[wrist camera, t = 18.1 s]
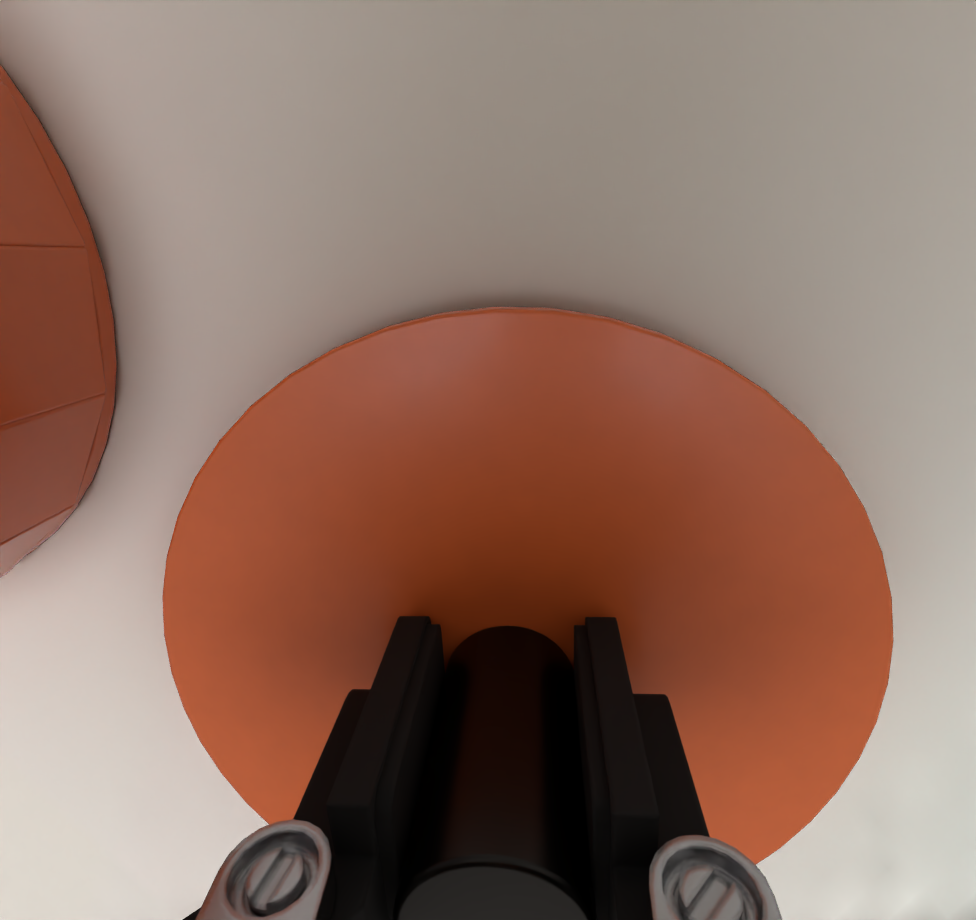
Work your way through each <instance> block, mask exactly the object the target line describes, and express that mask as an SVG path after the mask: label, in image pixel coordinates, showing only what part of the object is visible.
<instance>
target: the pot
mask: <svg viewBox="0 0 976 920" xmlns="http://www.w3.org/2000/svg"><path fill="white" fill-rule="evenodd" d="M116 369H117V362H116V347H115V332H114V320H113V314H112V309H111V304H110V298H109V293H108V288H107V283H106V277H105V272H104V269H103V266H102V263H101V259H100V256H99V253H98V250H97V246H96V243H95V240H94V237H93V233H92V230H91V227H90V224H89V221H88V219H87V216H86V214H85V212H84V209H83V207H82V205H81V202H80V200H79V198H78V195H77V193H76V191H75V188H74V186H73V184H72V181H71V179H70V177H69V174H68V172H67V170H66V168H65V166H64V165H63V163H62V161H61V159H60V157H59V156H58V154H57V152H56V150H55V148H54V146H53V145H52V143H51V141H50V139H49V137H48V136H47V134H46V132H45V130H44V128H43V126H42V125H41V123H40V121H39V119H38V118H37V116H36V115H35V114H34V112H33V111H32V109H31V108H30V106H29V105H28V103H27V102H26V100H25V99H24V98H23V96H22V95H21V93H20V92H19V90H18V89H17V87H16V86H15V84H14V83H13V82H12V80H11V79H10V77H9V76H8V74H7V73H6V71H5V70H4V69H3V67H2V66H1V65H0V577H2V576H4V575H5V574H7V573H8V572H9V571H10V570H11V569H12V568H13V567H14V566H15V565H16V564H17V563H18V562H19V561H20V560H21V559H22V558H23V557H24V556H26V555H28V554H29V553H31V552H32V551H34V550H35V549H36V548H37V547H38V546H40V545H41V544H42V543H43V542H44V541H46V540H47V539H48V538H49V537H50V536H52V535H53V534H54V533H55V532H56V531H57V530H58V529H59V527H60V526H61V525H62V524H63V523H64V522H65V520H66V519H67V518H68V517H69V516H70V514H71V513H72V512H73V511H74V510H75V509H76V507H77V505H78V504H79V502H80V500H81V499H82V497H83V495H84V493H85V492H86V490H87V488H88V487H89V485H90V483H91V481H92V480H93V478H94V475H95V473H96V470H97V468H98V465H99V462H100V460H101V457H102V454H103V452H104V449H105V446H106V443H107V438H108V434H109V429H110V424H111V419H112V415H113V410H114V400H115V385H116Z"/></svg>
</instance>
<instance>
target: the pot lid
mask: <svg viewBox="0 0 976 920" xmlns="http://www.w3.org/2000/svg"><path fill="white" fill-rule="evenodd" d="M400 616H429V617H430V620H431V624H440V626H441V632H442V643H443V655H444V666H445V677H444V681H443V686H442V690H441V695H440V699H439V704H438V708H437V713H436V717H435V722H434V726H433V731H432V736H431V740H430V745H429V749H428V754H427V758H426V763H425V767H424V772H423V776H422V781H421V785H420V790H419V794H418V799H417V803H416V808H415V813H414V817H413V822H412V826H411V831H410V835H409V840H408V844H407V849H406V853H405V858H404V862H403V867H402V871H401V876H400V881H399V885H398V890H397V894H396V899H395V903H394V910H393V920H597V917H596V906H595V895H594V891H593V887H592V879H591V867H590V856H589V844H588V833H587V821H586V810H585V798H584V787H583V776H582V764H581V753H580V741H579V730H578V718H577V707H576V695H575V684H574V625H585V617H616V619H617V623H618V628H619V632H620V637H621V642H622V646H623V651H624V655H625V660H626V664H627V669H628V674H629V678H630V683H631V687H632V692H633V694H666V696H667V697H668V699H669V702H670V705H671V708H672V711H673V715H674V718H675V721H676V725H677V728H678V732H679V735H680V738H681V742H682V745H683V748H684V752H685V755H686V758H687V762H688V765H689V768H690V772H691V775H692V779H693V782H694V785H695V789H696V792H697V795H698V799H699V802H700V805H701V809H702V812H703V815H704V819H705V822H706V826H707V829H708V832H709V836H710V837H711V838H716V839H718V840H720V841H723V842H725V843H727V844H729V845H731V846H733V847H735V848H736V849H738V850H739V851H740V852H741V853H743V854H744V855H745V856H746V857H748V858H749V859H750V860H752V862H753V863H754V864H755V865H756V864H757V863H759V862H760V861H762V860H763V859H765V858H766V857H768V856H769V855H771V854H772V853H774V852H775V851H777V850H778V849H780V848H781V847H782V846H783V845H784V844H785V843H787V842H788V841H789V840H790V839H791V838H792V837H794V836H795V835H796V834H797V833H798V832H799V831H800V830H802V829H803V828H804V827H805V826H806V825H807V824H808V823H810V822H811V821H812V819H813V818H814V817H815V816H816V815H817V814H818V813H819V812H820V810H821V809H822V808H823V807H824V806H825V805H826V804H827V803H828V801H829V800H830V799H831V798H832V797H833V796H834V795H835V794H836V792H837V791H838V790H839V788H840V787H841V785H842V784H843V782H844V781H845V779H846V778H847V776H848V775H849V773H850V772H851V770H852V769H853V767H854V766H855V764H856V763H857V761H858V760H859V758H860V756H861V754H862V752H863V749H864V747H865V745H866V743H867V741H868V739H869V737H870V735H871V733H872V730H873V728H874V726H875V724H876V722H877V718H878V715H879V712H880V708H881V705H882V702H883V698H884V695H885V691H886V688H887V685H888V679H889V671H890V663H891V656H892V648H893V620H892V597H891V593H890V588H889V583H888V578H887V574H886V569H885V564H884V559H883V555H882V551H881V548H880V546H879V543H878V541H877V538H876V536H875V533H874V531H873V528H872V525H871V523H870V520H869V518H868V515H867V513H866V510H865V508H864V506H863V504H862V503H861V501H860V499H859V498H858V496H857V494H856V493H855V491H854V489H853V488H852V486H851V484H850V483H849V481H848V479H847V478H846V476H845V474H844V473H843V471H842V469H841V468H840V466H839V465H838V464H837V462H836V461H835V460H834V459H833V458H832V456H831V455H830V454H829V453H828V452H827V450H826V449H825V448H824V447H823V446H822V444H821V443H820V442H819V441H818V440H817V438H816V437H815V436H814V435H813V434H812V432H811V431H810V430H809V429H808V428H807V426H805V425H804V424H803V423H802V422H801V421H800V420H799V419H797V418H796V417H795V416H794V415H793V414H792V413H791V412H790V411H788V410H787V409H786V408H785V407H784V406H783V405H782V404H780V403H779V402H778V401H777V400H776V399H775V398H774V397H772V396H771V395H770V394H769V393H768V392H767V391H766V390H764V389H762V388H761V387H759V386H758V385H756V384H755V383H753V382H752V381H750V380H749V379H747V378H745V377H744V376H742V375H741V374H739V373H738V372H736V371H735V370H733V369H732V368H730V367H728V366H727V365H725V364H724V363H722V362H721V361H719V360H717V359H716V358H714V357H712V356H710V355H708V354H706V353H703V352H701V351H699V350H697V349H695V348H693V347H690V346H688V345H686V344H684V343H682V342H680V341H677V340H675V339H673V338H671V337H669V336H667V335H665V334H662V333H659V332H656V331H653V330H649V329H646V328H643V327H640V326H636V325H633V324H630V323H626V322H623V321H620V320H617V319H613V318H610V317H605V316H599V315H593V314H587V313H581V312H574V311H568V310H562V309H556V308H533V307H488V308H479V309H470V310H461V311H452V312H443V313H438V314H434V315H430V316H426V317H422V318H418V319H414V320H410V321H406V322H402V323H398V324H395V325H391V326H387V327H385V328H383V329H380V330H378V331H375V332H373V333H370V334H368V335H365V336H363V337H361V338H358V339H356V340H353V341H351V342H348V343H346V344H343V345H341V346H339V347H336V348H334V349H332V350H331V351H329V352H327V353H326V354H324V355H322V356H320V357H319V358H317V359H315V360H314V361H312V362H310V363H309V364H307V365H305V366H303V367H302V368H300V369H298V370H297V371H295V372H293V373H292V374H290V375H288V376H287V377H286V378H285V379H283V380H282V381H281V382H280V383H278V384H277V385H276V386H275V387H274V388H272V389H271V390H270V391H269V392H267V393H266V394H265V395H264V396H262V397H261V398H260V399H259V400H257V401H256V402H255V403H254V404H253V405H251V406H250V407H249V409H248V410H247V411H246V412H245V413H244V414H243V415H242V416H241V417H240V418H239V420H238V421H237V422H236V423H235V424H234V425H233V426H232V427H231V428H230V429H229V431H228V432H227V433H226V434H225V435H224V436H223V437H222V438H221V439H220V441H219V442H218V444H217V445H216V447H215V448H214V450H213V451H212V453H211V454H210V456H209V457H208V459H207V460H206V462H205V463H204V465H203V466H202V468H201V469H200V471H199V473H198V474H197V476H196V477H195V479H194V481H193V484H192V486H191V488H190V490H189V493H188V495H187V497H186V499H185V501H184V504H183V506H182V508H181V510H180V513H179V515H178V517H177V521H176V525H175V528H174V532H173V536H172V540H171V543H170V547H169V551H168V554H167V560H166V569H165V578H164V588H163V617H164V636H165V641H166V646H167V651H168V657H169V662H170V667H171V672H172V675H173V678H174V681H175V684H176V687H177V690H178V693H179V696H180V698H181V701H182V704H183V707H184V710H185V712H186V714H187V716H188V718H189V720H190V722H191V724H192V726H193V728H194V730H195V732H196V734H197V736H198V738H199V740H200V742H201V743H202V745H203V746H204V748H205V749H206V751H207V752H208V754H209V755H210V757H211V758H212V760H213V761H214V763H215V764H216V766H217V767H218V769H219V770H220V772H221V773H222V775H223V776H224V777H225V778H226V779H227V781H228V782H229V783H230V784H231V785H232V786H233V788H234V789H235V790H236V791H237V792H238V793H239V795H240V796H241V797H242V798H243V799H244V801H245V802H246V803H247V804H248V805H249V806H250V807H251V808H253V809H254V810H255V811H256V812H257V813H258V814H259V815H260V816H261V817H262V818H263V819H264V820H265V821H266V822H267V823H268V824H269V825H270V824H272V823H275V822H279V821H286V820H293V818H294V816H295V813H296V811H297V809H298V807H299V804H300V802H301V800H302V797H303V795H304V793H305V790H306V788H307V786H308V784H309V781H310V779H311V777H312V774H313V772H314V770H315V767H316V765H317V763H318V761H319V758H320V756H321V754H322V751H323V749H324V747H325V744H326V742H327V740H328V738H329V735H330V733H331V731H332V728H333V726H334V724H335V721H336V719H337V717H338V715H339V712H340V710H341V708H342V705H343V703H344V701H345V698H346V697H347V695H348V693H349V692H350V691H351V690H352V689H371V686H372V684H373V681H374V679H375V676H376V674H377V671H378V668H379V666H380V663H381V661H382V658H383V655H384V653H385V650H386V648H387V645H388V642H389V640H390V637H391V635H392V632H393V630H394V627H395V624H396V622H397V619H398V618H399V617H400Z"/></svg>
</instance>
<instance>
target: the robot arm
mask: <svg viewBox="0 0 976 920" xmlns="http://www.w3.org/2000/svg"><path fill="white" fill-rule="evenodd" d="M444 677H445V666H444V655H443V643H442V632H441V626H440V624H431V620H430V617H429V616H400V617H399V618H398V619H397V622H396V624H395V627H394V630H393V632H392V635H391V637H390V640H389V642H388V645H387V648H386V650H385V653H384V655H383V658H382V661H381V663H380V666H379V668H378V671H377V674H376V676H375V679H374V681H373V684H372V686H371V689H352V690H351V691H350V692H349V693H348V695H347V697H346V698H345V701H344V703H343V705H342V708H341V710H340V712H339V715H338V717H337V719H336V721H335V724H334V726H333V728H332V731H331V733H330V735H329V738H328V740H327V742H326V744H325V747H324V749H323V751H322V754H321V756H320V758H319V761H318V763H317V765H316V767H315V770H314V772H313V774H312V777H311V779H310V781H309V784H308V786H307V788H306V790H305V793H304V795H303V797H302V800H301V802H300V804H299V807H298V809H297V811H296V813H295V816H294V818H293V820H286V821H279V822H275V823H272V824H270V825H267V826H265V827H262V828H260V829H258V830H257V831H255V832H254V833H252V834H251V835H249V836H248V837H246V838H245V839H243V840H242V841H241V842H240V843H239V844H238V845H237V846H236V847H235V848H234V849H233V850H232V851H231V853H230V854H229V855H228V856H227V858H226V860H225V861H224V863H223V864H222V866H221V868H220V869H219V871H218V873H217V875H216V877H215V879H214V881H213V883H212V886H211V888H210V890H209V892H208V894H207V896H206V898H205V900H204V902H203V905H202V907H201V908H199V909H198V910H196V911H195V912H193V913H192V914H190V915H189V916H188V917H186V918H185V919H183V920H393V910H394V903H395V899H396V894H397V890H398V885H399V881H400V876H401V871H402V867H403V862H404V858H405V853H406V849H407V844H408V840H409V835H410V831H411V826H412V822H413V817H414V813H415V808H416V803H417V799H418V794H419V790H420V785H421V781H422V776H423V772H424V767H425V763H426V758H427V754H428V749H429V745H430V740H431V736H432V731H433V726H434V722H435V717H436V713H437V708H438V704H439V699H440V695H441V690H442V686H443V681H444ZM574 684H575V695H576V707H577V718H578V730H579V741H580V753H581V764H582V776H583V787H584V798H585V810H586V821H587V833H588V844H589V856H590V867H591V879H592V887H593V891H594V895H595V906H596V917H597V920H782V917H781V914H780V911H779V908H778V905H777V902H776V899H775V896H774V894H773V892H772V890H771V888H770V886H769V884H768V882H767V879H766V877H765V876H764V875H763V874H762V873H761V871H760V870H759V869H758V868H757V866H756V865H755V864H754V863H753V862H752V860H750V859H749V858H748V857H746V856H745V855H744V854H743V853H741V852H740V851H739V850H738V849H736V848H735V847H733V846H731V845H729V844H727V843H725V842H723V841H720V840H718V839H716V838H711V837H710V836H709V832H708V829H707V826H706V822H705V819H704V815H703V812H702V809H701V805H700V802H699V799H698V795H697V792H696V789H695V785H694V782H693V779H692V775H691V772H690V768H689V765H688V762H687V758H686V755H685V752H684V748H683V745H682V742H681V738H680V735H679V732H678V728H677V725H676V721H675V718H674V715H673V711H672V708H671V705H670V702H669V699H668V697H667V696H666V694H633V692H632V687H631V683H630V678H629V674H628V669H627V664H626V660H625V655H624V651H623V646H622V642H621V637H620V632H619V628H618V623H617V619H616V617H585V625H574Z"/></svg>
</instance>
